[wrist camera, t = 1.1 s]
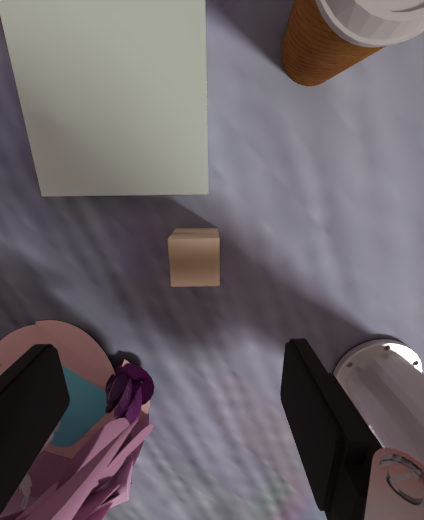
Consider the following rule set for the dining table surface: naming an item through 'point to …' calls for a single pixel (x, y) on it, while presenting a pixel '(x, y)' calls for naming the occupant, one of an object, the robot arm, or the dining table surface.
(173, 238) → the maple block
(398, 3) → the disposable coffee cup
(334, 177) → the dining table surface
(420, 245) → the dining table surface
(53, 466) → the purple clam shell
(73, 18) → the sage stand
